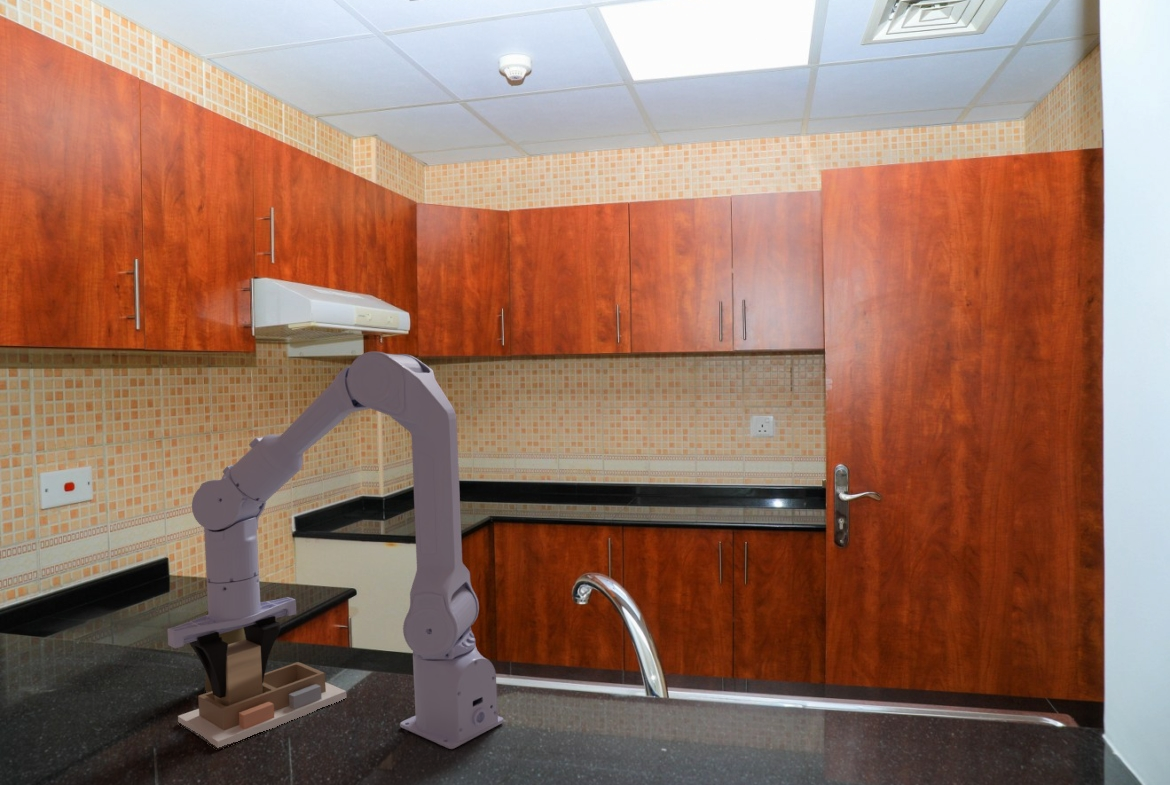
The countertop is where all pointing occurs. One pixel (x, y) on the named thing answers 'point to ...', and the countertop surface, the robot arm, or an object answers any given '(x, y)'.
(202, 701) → the socket board
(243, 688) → the maple peg
